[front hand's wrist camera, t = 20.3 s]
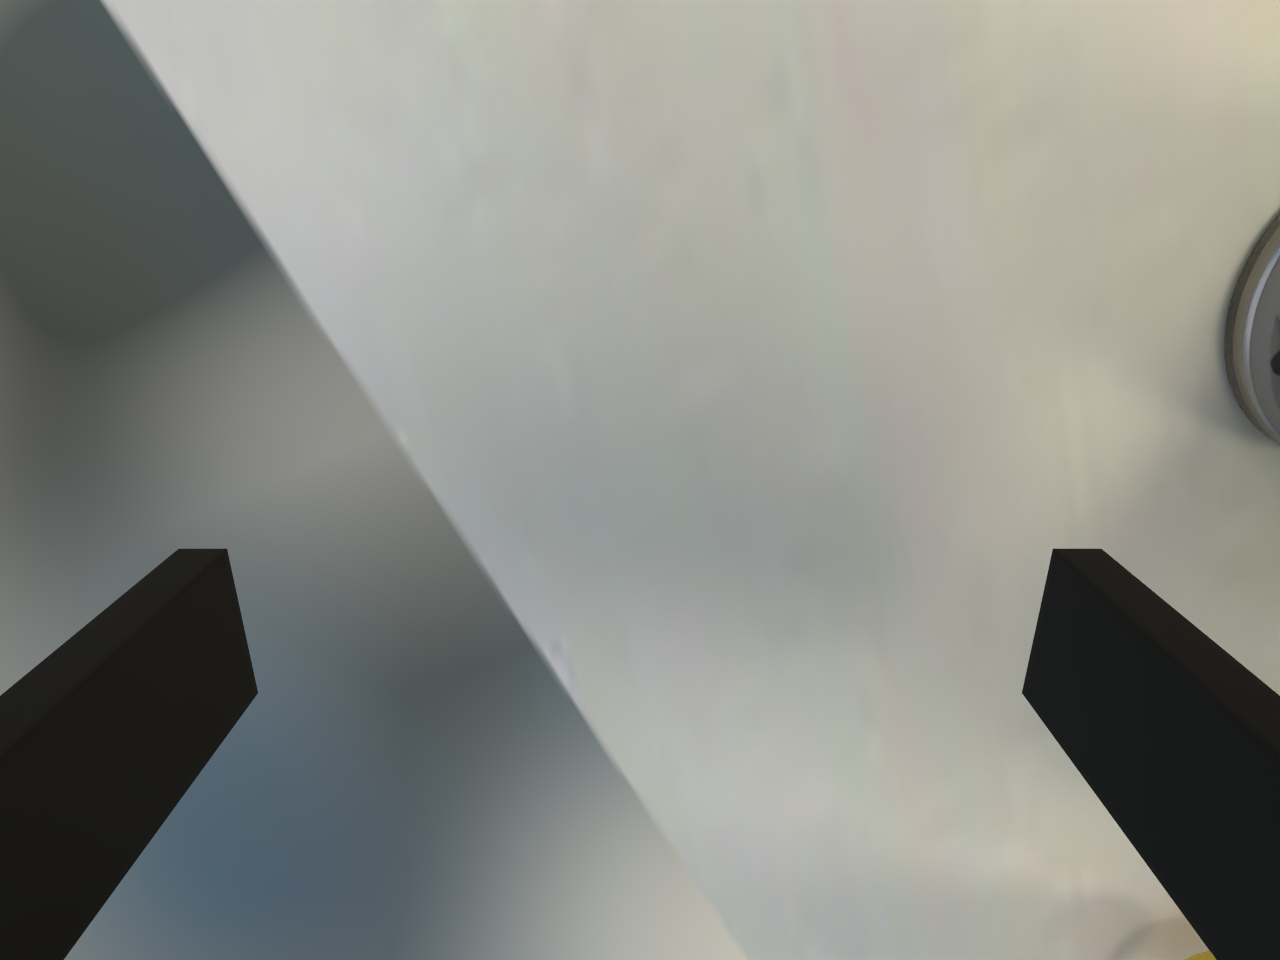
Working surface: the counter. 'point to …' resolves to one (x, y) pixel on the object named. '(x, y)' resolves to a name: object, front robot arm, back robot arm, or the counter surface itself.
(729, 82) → the counter surface
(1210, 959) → the tin
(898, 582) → the counter surface
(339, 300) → the counter surface
